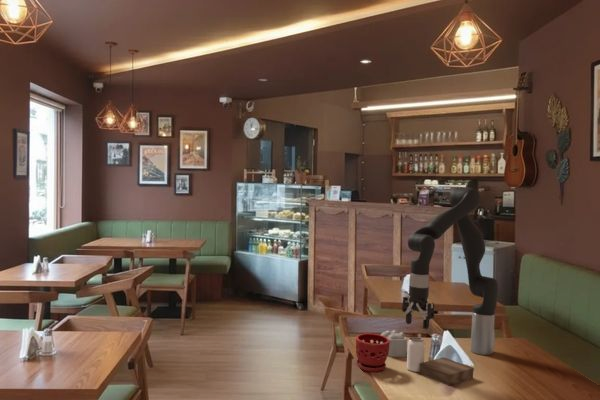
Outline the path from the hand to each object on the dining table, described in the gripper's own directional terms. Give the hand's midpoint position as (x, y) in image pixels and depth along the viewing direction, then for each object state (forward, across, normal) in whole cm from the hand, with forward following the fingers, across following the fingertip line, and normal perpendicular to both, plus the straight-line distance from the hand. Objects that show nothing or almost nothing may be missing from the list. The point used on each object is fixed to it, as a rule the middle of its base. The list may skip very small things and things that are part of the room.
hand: (417, 326), depth 208 cm
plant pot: (+18, +10, +14) cm, 24 cm away
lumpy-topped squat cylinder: (+17, +20, -8) cm, 28 cm away
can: (+17, 0, 0) cm, 17 cm away
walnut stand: (+17, -11, -5) cm, 21 cm away
